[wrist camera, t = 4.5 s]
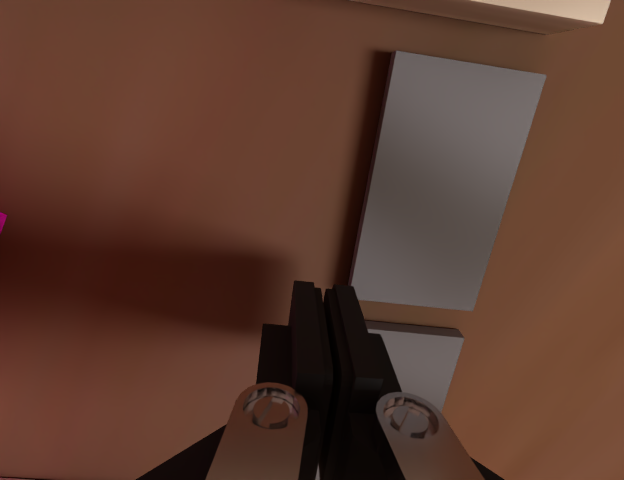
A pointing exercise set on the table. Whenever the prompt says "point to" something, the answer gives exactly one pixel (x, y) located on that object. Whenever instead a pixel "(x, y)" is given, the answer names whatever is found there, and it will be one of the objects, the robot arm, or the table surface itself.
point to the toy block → (2, 220)
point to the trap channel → (445, 179)
